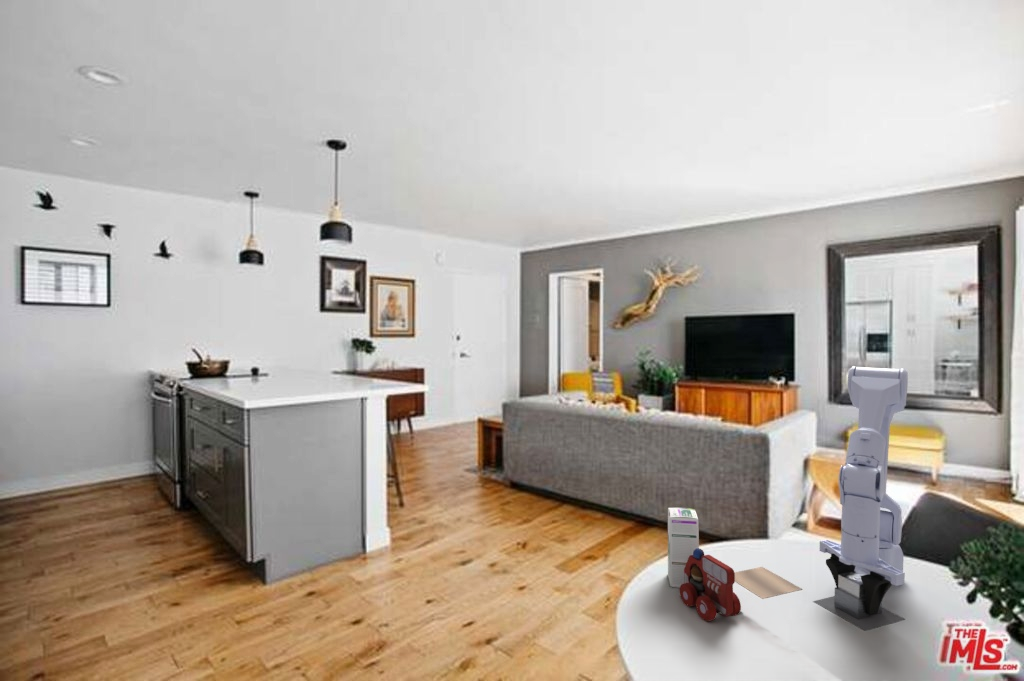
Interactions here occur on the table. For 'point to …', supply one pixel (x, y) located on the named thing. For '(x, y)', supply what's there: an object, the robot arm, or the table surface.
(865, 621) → the stand
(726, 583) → the toy fire truck
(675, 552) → the syrup box
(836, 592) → the housing
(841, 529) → the robot arm
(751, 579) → the stand
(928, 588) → the table surface
